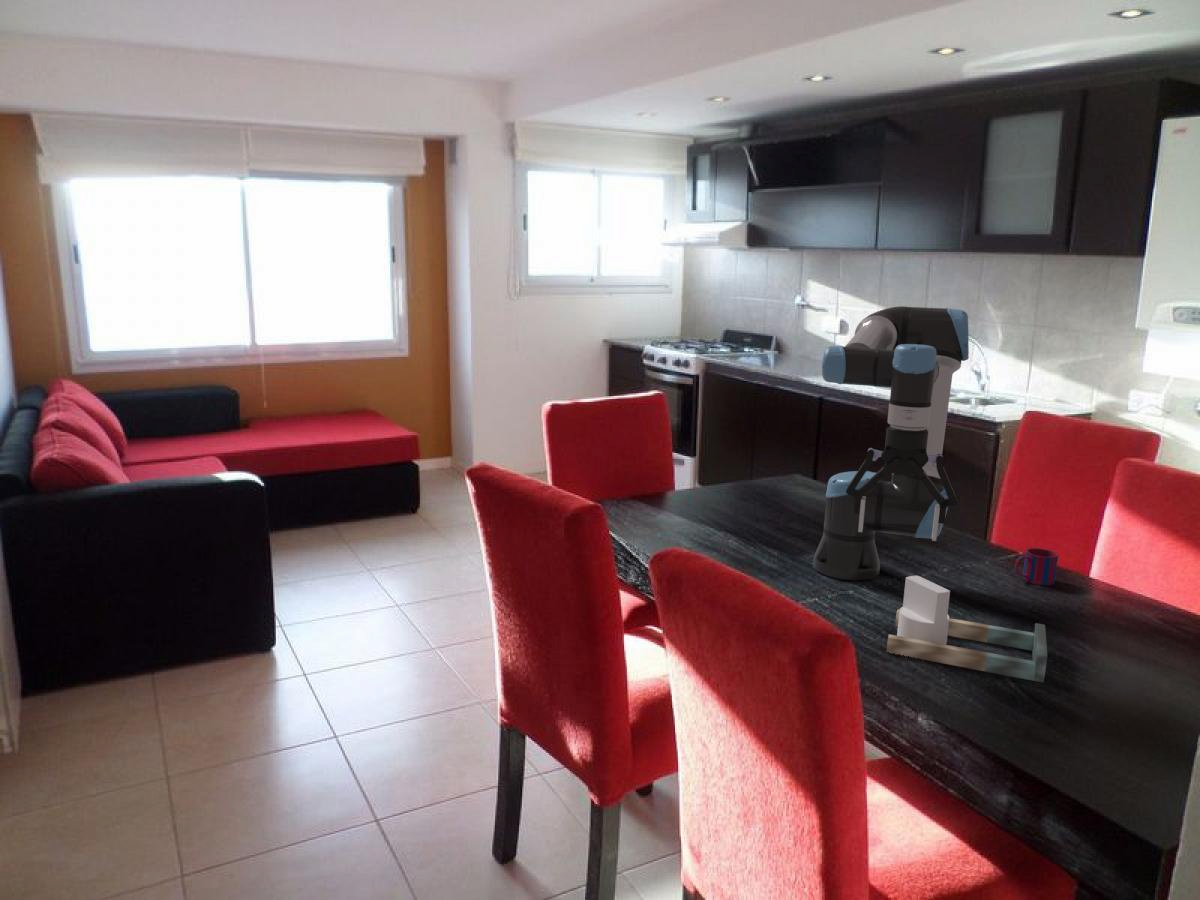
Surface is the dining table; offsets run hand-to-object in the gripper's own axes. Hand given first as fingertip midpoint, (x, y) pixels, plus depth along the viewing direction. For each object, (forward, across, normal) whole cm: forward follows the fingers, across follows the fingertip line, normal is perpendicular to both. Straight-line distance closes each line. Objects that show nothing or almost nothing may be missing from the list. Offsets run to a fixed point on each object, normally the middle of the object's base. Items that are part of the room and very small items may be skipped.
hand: (896, 534), depth 175 cm
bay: (+20, +13, -4) cm, 24 cm away
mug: (+19, +31, +42) cm, 56 cm away
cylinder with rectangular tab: (+20, +6, -4) cm, 21 cm away
